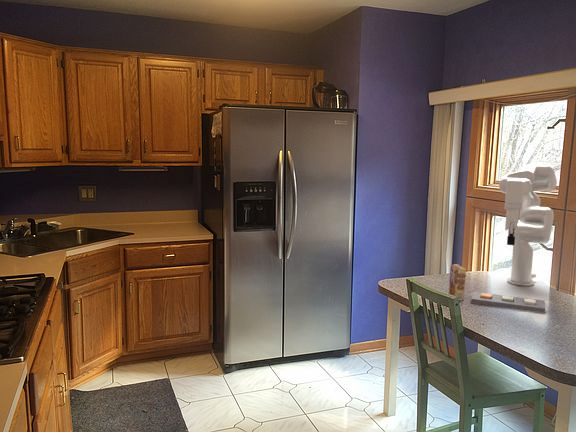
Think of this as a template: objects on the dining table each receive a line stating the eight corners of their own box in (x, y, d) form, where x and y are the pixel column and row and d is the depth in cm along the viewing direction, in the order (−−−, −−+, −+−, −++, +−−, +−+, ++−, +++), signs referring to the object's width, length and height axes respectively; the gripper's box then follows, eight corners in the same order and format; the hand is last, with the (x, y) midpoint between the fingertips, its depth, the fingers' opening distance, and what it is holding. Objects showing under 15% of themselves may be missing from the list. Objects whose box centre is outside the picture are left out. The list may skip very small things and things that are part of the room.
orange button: (481, 297, 224) (481, 292, 224) (491, 298, 222) (491, 294, 222) (480, 300, 220) (480, 295, 220) (491, 301, 218) (491, 296, 218)
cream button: (524, 303, 216) (524, 298, 216) (535, 304, 214) (535, 299, 214) (524, 305, 212) (524, 301, 212) (535, 307, 210) (535, 302, 210)
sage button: (502, 300, 220) (502, 295, 220) (512, 301, 218) (513, 296, 218) (502, 302, 216) (502, 298, 216) (512, 304, 214) (513, 299, 214)
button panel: (473, 295, 229) (473, 291, 229) (544, 304, 216) (544, 300, 216) (470, 302, 218) (471, 298, 218) (545, 313, 205) (545, 308, 205)
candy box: (464, 300, 221) (466, 268, 219) (455, 300, 221) (457, 268, 219) (457, 294, 230) (459, 264, 228) (448, 295, 230) (450, 264, 228)
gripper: (505, 204, 231) (502, 241, 233) (504, 207, 217) (501, 246, 220) (522, 204, 227) (519, 242, 230) (522, 208, 214) (519, 248, 217)
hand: (510, 244), depth 225 cm, fingers closed
